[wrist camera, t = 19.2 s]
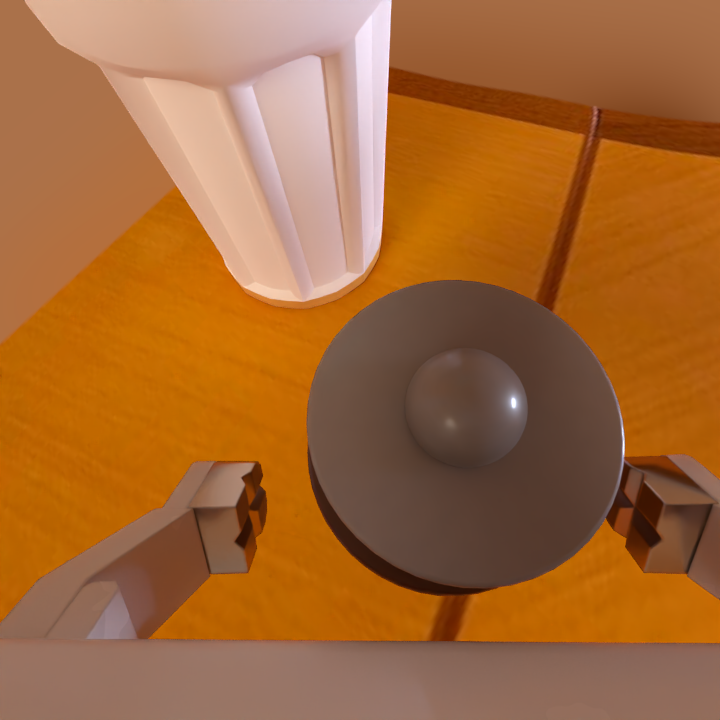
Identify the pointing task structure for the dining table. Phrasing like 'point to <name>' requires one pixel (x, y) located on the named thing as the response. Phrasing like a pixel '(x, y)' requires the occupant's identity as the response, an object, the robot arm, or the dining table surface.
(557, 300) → the dining table surface
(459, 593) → the pepper mill
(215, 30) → the cup
